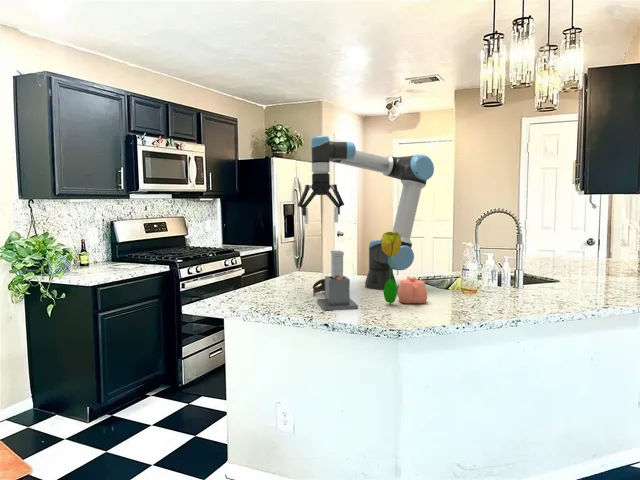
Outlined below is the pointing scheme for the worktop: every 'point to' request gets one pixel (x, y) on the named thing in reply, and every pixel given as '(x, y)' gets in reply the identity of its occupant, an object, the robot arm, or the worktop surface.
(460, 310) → the worktop surface
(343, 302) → the stand base
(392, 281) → the flower
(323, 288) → the pottery mug
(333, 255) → the column
